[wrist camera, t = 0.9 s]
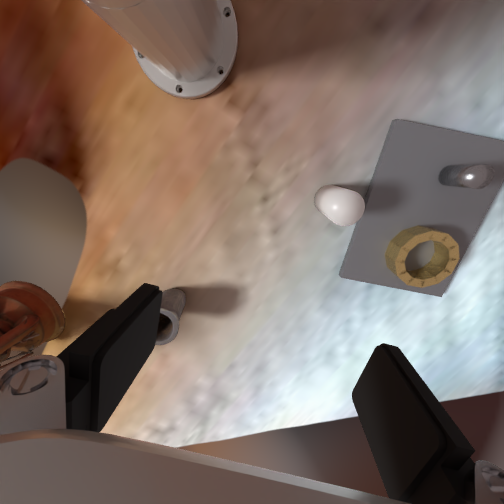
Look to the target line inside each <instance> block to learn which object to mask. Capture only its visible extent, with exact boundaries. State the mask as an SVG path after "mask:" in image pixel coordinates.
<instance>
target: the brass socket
mask: <svg viewBox="0 0 504 504" xmlns="http://www.w3.org/2000/svg"><path fill="white" fill-rule="evenodd" d="M429 240H432V241H433V242H434V250H435V252H434V254H433V256H432V258H431V260H430V262H428V263H427V264H426V265H425V266H423V267H422V268H420V269H416V270H413V271H408V270H406V268H405V259H406V257H407V255H408V253H409V251H410V250H411V249H413V248H414V247H415V246H416V245H417V244H419V243H422V242H425V241H429ZM459 259H460V258H459V245H458V243H457V242H456V241H455V240H454V239H453V238H452V237H451V236H450V235H449V234H447V233H445V232H442V231H439V230H436V229H434V228H429V227H424V226H419V225H418V226H414V227H411V228H408V229H404V230H402V231H401V232H400V233H398V234H397V235H396V236H395V237H394V238H393V239H392V240H390V242H389V245H388V247H387V250H386V252H385V260H386V265H387V268H388V269H389V270H390V271H391V272H393V273H394V274H395V275H396V276H397V277H398V278H399V279H400V280H402V281H403V282H404V283H405V284H406V285H409V286H415V287H420V288H423V287H427V286H431V285H435V284H438V283H440V282H441V281H442V280H444V279H445V278H446V277H448V276H449V275H450V274H452V272H453V270H454V268H455V267H456V265H457V263H458V261H459Z"/></svg>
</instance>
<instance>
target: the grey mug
mask: <svg viewBox="0 0 504 504" xmlns="http://www.w3.org/2000/svg"><path fill="white" fill-rule="evenodd" d="M185 303H186V297H185V294H184V292H183V291H181V290H179V289H168V290H165V291H163V295H162V302H161V309H160V316H159V323H158V330H157V337H156V343H155V345H164V344H167V343H169V342H171V341H172V340H173V339H174V338H175V337H176V335H177V333H178V329H179V319H180V316H181V313H182V311H183V308H184V306H185Z"/></svg>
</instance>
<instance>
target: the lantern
mask: <svg viewBox="0 0 504 504" xmlns="http://www.w3.org/2000/svg"><path fill="white" fill-rule="evenodd" d="M64 326H65V318H64V313H63V312H62V309H61V307H60V306H59V304H58V303H57V301H55V299H54V298H53V297H52V296H51V295H50V294H49V293H48V292H46V291H45V290H43V289H42V288H40V287H38V286H36V285H34V284H32V283H27V282H22V281H11V282H7V283H5V284H3V285H1V286H0V362H3V361H5V360H8V359H11V358H14V357H17V356H21V355H25V354H27V355H25V356H23V357H21V358H20V359H23V358H27V357H29V356H31V355H32V354H33V352H31V351H32V350H34V349H35V348H37V347H38V346H39V345H41V344H42V343H44V342H48V341H51V340H53V339H55V338H57V337H58V336H59V335H60V334H61V333H62V331H63V330H64ZM11 351H17V352H21V353H20V354H18V355H17V356H14V357H10V358H8V357H9V355H10V352H11ZM28 353H29V354H28ZM20 359H17V360H15V361H13V362H11V363H8V364H6V365H3V366H1V364H0V366H1V367H0V370H1V369H3V368H5V367H7V366H8V365H10V364H12V363H14V362H16V361H18V360H20Z"/></svg>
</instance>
